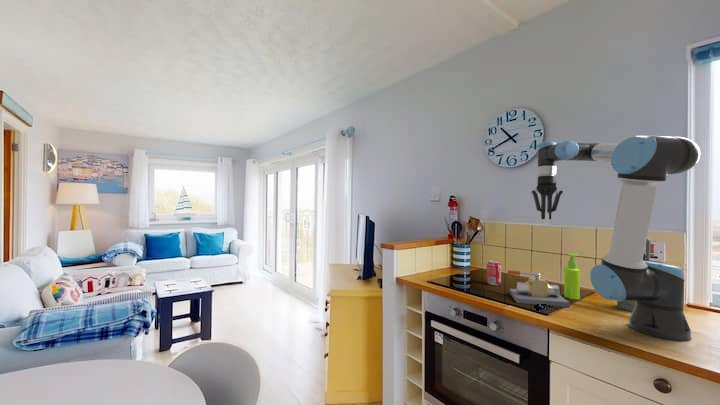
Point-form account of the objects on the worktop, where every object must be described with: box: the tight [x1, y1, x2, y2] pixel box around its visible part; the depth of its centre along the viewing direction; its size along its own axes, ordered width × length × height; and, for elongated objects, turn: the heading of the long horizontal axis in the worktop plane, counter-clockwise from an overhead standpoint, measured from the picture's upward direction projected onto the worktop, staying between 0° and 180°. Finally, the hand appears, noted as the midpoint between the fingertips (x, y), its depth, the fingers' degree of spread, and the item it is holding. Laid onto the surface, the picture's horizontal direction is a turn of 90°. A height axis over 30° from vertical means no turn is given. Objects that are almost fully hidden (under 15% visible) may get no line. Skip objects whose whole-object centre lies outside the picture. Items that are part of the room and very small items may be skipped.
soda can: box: [486, 260, 502, 286], centre depth 166 cm, size 7×7×12 cm
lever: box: [507, 269, 542, 278], centre depth 143 cm, size 13×3×2 cm, turn 61°
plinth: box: [509, 288, 571, 308], centre depth 140 cm, size 16×20×2 cm
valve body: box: [516, 277, 561, 298], centre depth 140 cm, size 6×16×8 cm, turn 75°
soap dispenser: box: [563, 253, 583, 300], centre depth 144 cm, size 6×7×20 cm
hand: (546, 226), depth 146 cm, fingers closed
